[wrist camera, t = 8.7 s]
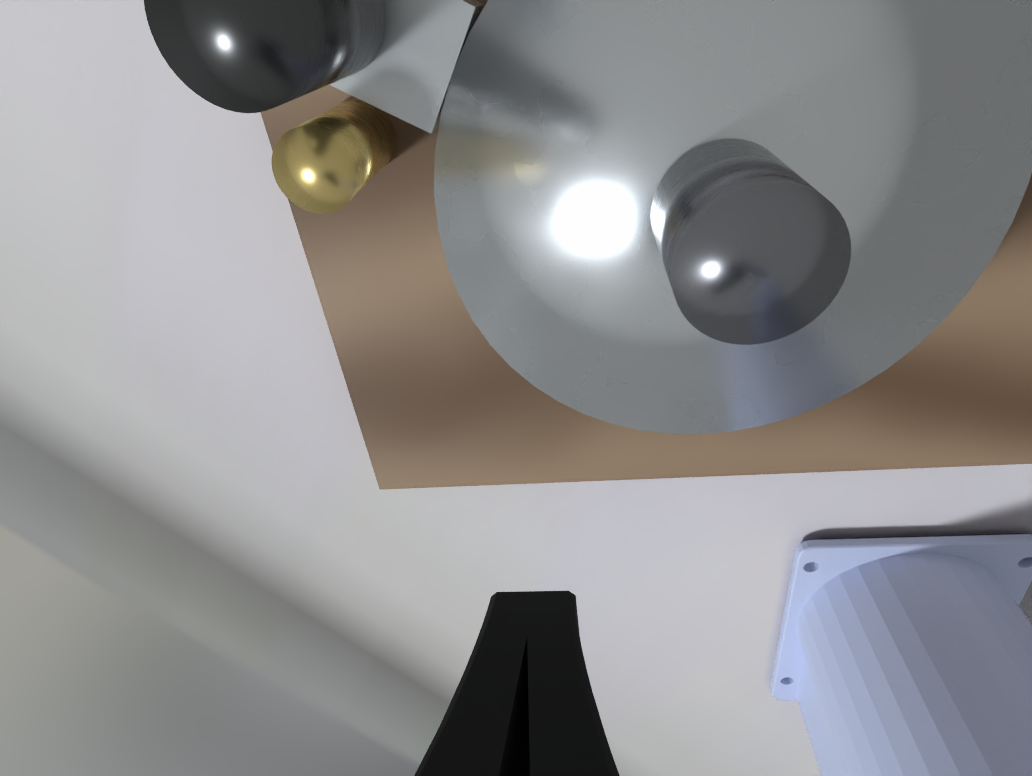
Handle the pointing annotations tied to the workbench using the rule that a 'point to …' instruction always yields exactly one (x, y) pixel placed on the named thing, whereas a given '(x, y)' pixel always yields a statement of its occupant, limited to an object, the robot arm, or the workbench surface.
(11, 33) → the workbench surface
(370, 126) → the dowel
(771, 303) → the post
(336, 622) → the workbench surface
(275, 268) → the workbench surface
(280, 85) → the crank
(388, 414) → the base board
